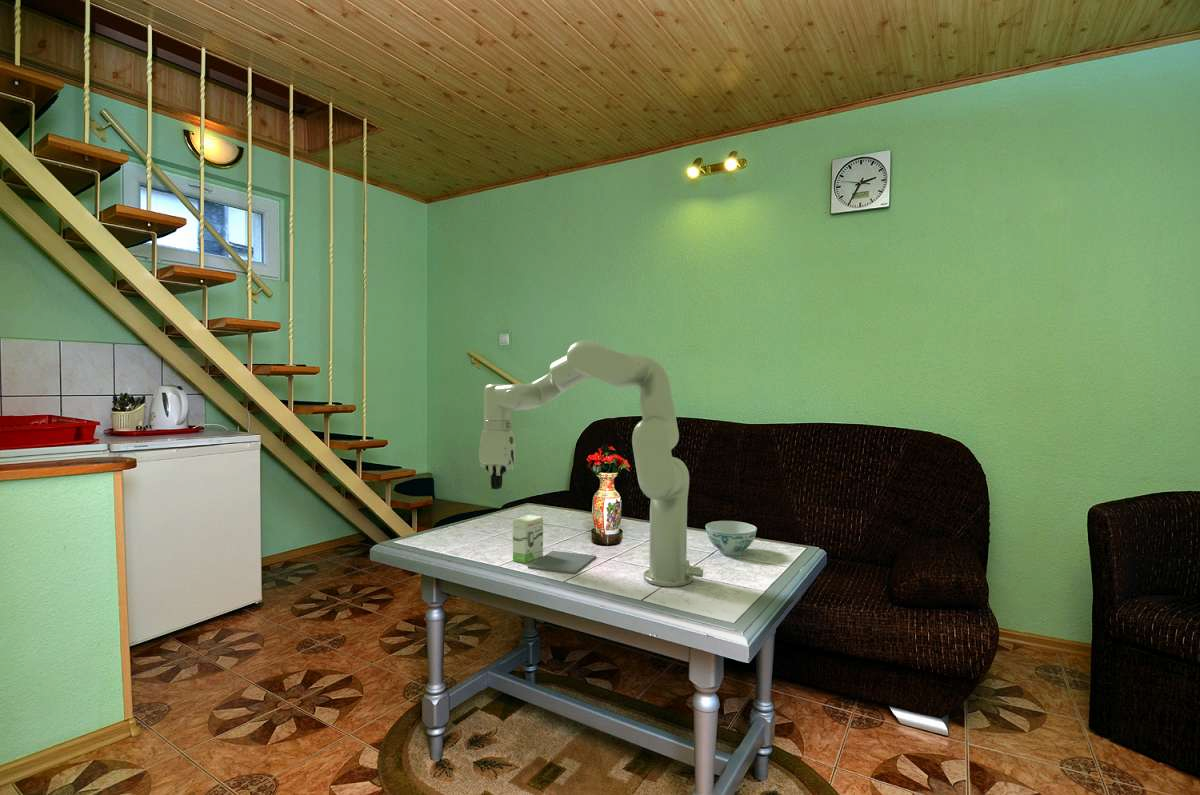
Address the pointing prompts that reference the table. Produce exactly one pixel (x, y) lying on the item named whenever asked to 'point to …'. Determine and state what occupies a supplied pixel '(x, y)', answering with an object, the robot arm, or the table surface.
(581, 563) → the slate mat
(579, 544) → the table surface
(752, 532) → the chinaware
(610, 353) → the robot arm
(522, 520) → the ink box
